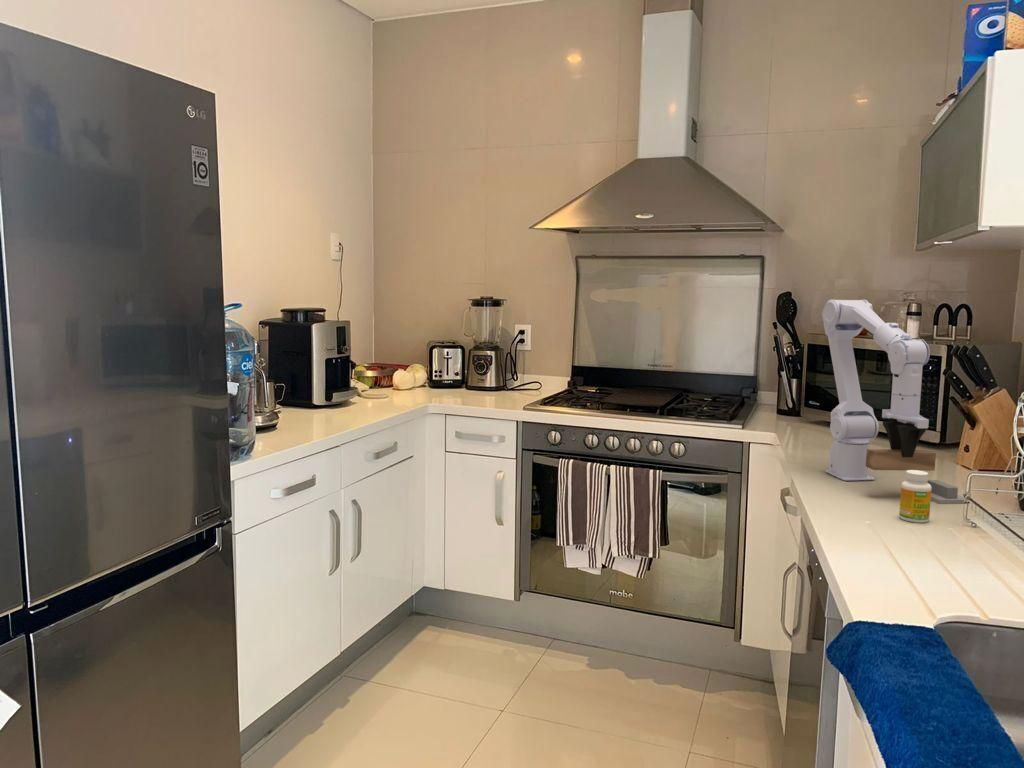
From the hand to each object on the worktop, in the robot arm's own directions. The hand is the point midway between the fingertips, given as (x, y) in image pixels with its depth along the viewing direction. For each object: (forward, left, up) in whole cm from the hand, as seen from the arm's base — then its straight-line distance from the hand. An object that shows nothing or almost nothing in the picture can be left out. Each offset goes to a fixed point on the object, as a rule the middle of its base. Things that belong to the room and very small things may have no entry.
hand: (901, 455), depth 172 cm
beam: (0, 0, -3) cm, 3 cm away
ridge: (+2, +9, -9) cm, 13 cm away
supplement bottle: (+17, -7, -10) cm, 21 cm away
